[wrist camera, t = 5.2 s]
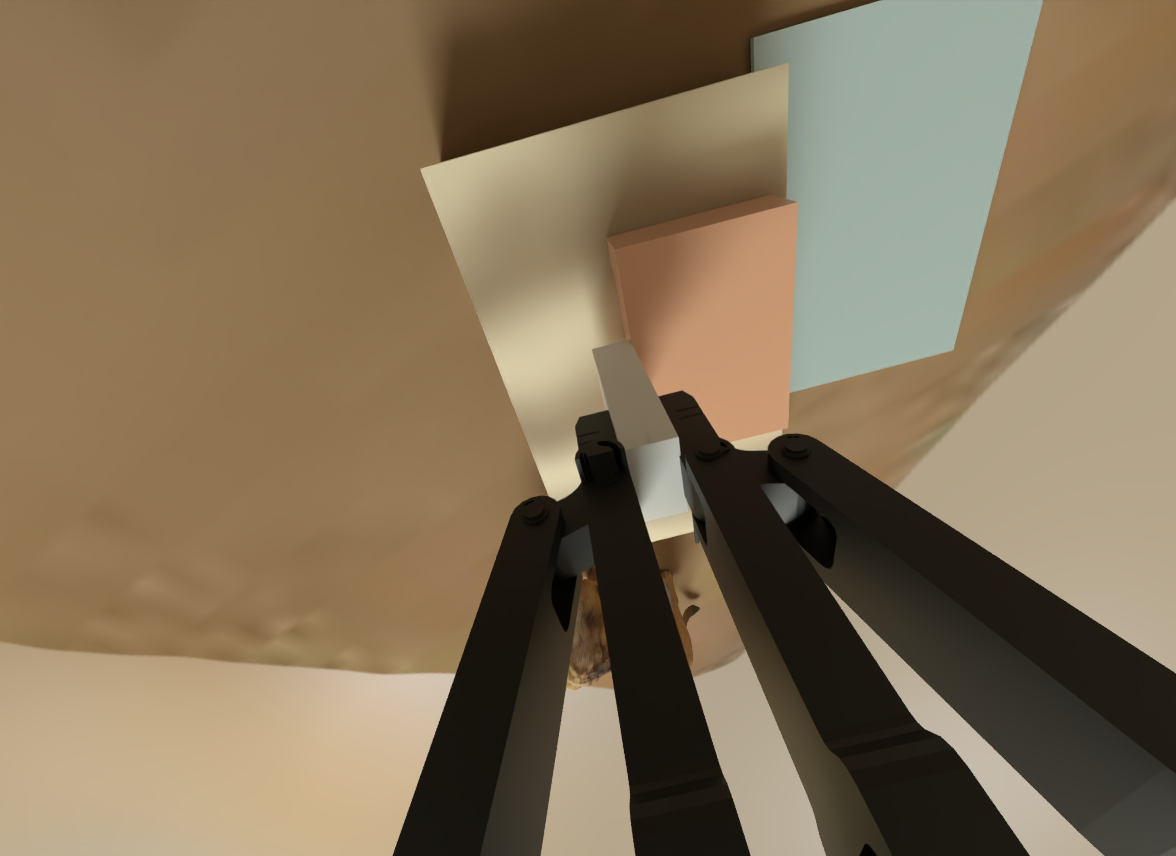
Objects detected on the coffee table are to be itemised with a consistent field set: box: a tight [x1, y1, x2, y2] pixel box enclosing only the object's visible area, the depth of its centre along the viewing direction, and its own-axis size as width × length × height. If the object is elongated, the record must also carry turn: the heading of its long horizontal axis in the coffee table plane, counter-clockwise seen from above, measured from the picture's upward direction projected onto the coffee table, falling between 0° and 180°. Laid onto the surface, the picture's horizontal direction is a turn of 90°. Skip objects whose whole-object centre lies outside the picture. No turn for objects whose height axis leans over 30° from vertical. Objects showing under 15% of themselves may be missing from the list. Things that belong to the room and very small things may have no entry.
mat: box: [750, 0, 1043, 393], centre depth 21 cm, size 16×11×1 cm
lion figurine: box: [566, 566, 700, 690], centre depth 29 cm, size 15×5×9 cm, turn 55°
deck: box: [420, 63, 789, 542], centre depth 21 cm, size 20×12×4 cm, turn 13°
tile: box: [606, 195, 798, 442], centre depth 18 cm, size 9×6×2 cm, turn 12°
